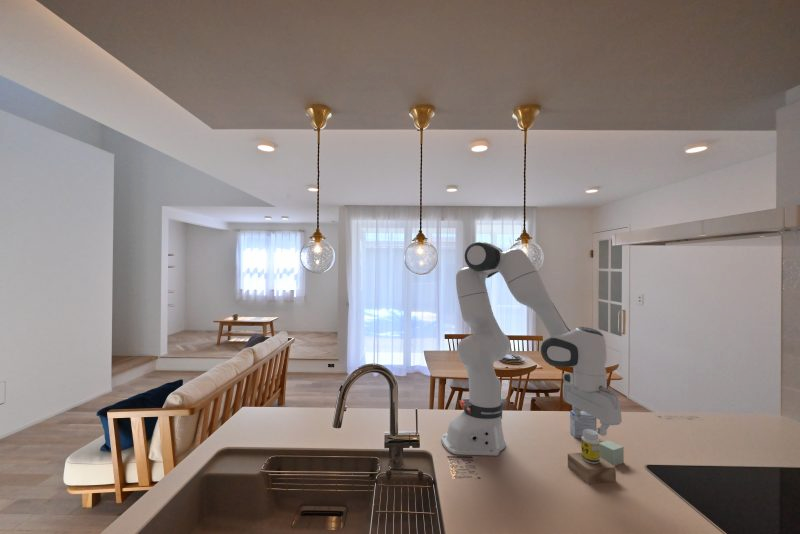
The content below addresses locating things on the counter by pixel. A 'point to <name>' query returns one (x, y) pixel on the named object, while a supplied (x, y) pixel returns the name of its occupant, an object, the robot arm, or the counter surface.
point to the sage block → (611, 452)
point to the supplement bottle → (590, 446)
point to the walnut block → (592, 469)
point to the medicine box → (582, 424)
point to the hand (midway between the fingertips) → (589, 427)
